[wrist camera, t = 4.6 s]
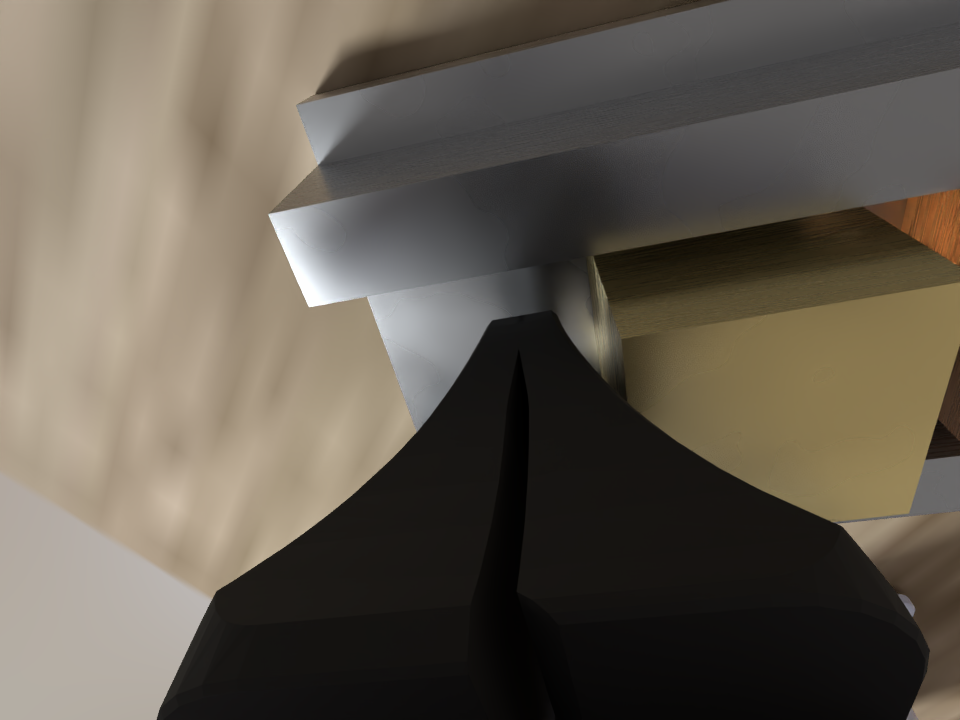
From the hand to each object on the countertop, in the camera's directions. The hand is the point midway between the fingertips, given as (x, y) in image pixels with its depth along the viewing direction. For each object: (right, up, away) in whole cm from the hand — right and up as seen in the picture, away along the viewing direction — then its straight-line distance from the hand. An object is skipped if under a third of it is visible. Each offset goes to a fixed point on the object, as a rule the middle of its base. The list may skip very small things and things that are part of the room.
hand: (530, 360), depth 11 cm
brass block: (+3, +1, 0) cm, 4 cm away
